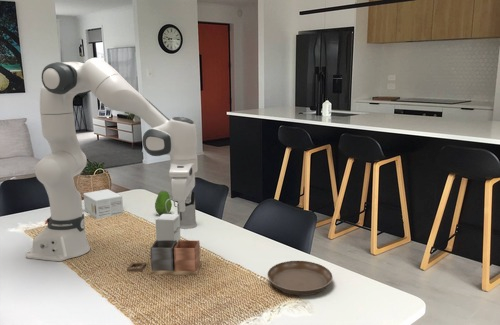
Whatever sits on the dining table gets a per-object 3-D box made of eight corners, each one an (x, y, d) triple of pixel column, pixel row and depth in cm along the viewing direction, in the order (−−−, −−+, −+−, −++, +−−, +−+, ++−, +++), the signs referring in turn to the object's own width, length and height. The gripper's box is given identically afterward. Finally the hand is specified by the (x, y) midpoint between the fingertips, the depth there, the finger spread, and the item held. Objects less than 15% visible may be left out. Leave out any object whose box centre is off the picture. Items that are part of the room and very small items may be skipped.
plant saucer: (315, 306, 128) (316, 295, 127) (255, 288, 139) (255, 278, 138) (341, 278, 145) (342, 269, 144) (286, 264, 156) (286, 256, 155)
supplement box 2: (174, 252, 168) (173, 220, 165) (156, 250, 169) (154, 219, 167) (181, 244, 175) (180, 214, 172) (163, 243, 176) (162, 213, 174)
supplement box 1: (84, 211, 220) (82, 193, 218) (109, 206, 228) (108, 188, 226) (97, 219, 207) (95, 200, 205) (123, 213, 215) (122, 195, 213)
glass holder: (200, 226, 196) (199, 193, 193) (170, 232, 188) (169, 199, 185) (191, 221, 203) (190, 189, 200) (162, 227, 195) (160, 194, 192)
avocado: (170, 217, 209) (169, 192, 206) (153, 217, 209) (152, 192, 206) (173, 212, 216) (172, 188, 214) (157, 212, 217) (156, 188, 214)
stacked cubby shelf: (150, 274, 149) (148, 249, 147) (157, 263, 158) (155, 239, 156) (197, 274, 148) (196, 249, 146) (201, 263, 157) (200, 239, 155)
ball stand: (126, 271, 151) (126, 268, 151) (131, 265, 156) (131, 262, 156) (141, 271, 151) (141, 268, 151) (146, 265, 156) (145, 262, 156)
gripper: (181, 160, 156) (182, 198, 159) (167, 173, 136) (169, 216, 139) (198, 160, 156) (199, 198, 158) (187, 173, 136) (189, 216, 138)
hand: (185, 206), depth 148 cm, fingers open, 8 cm apart
